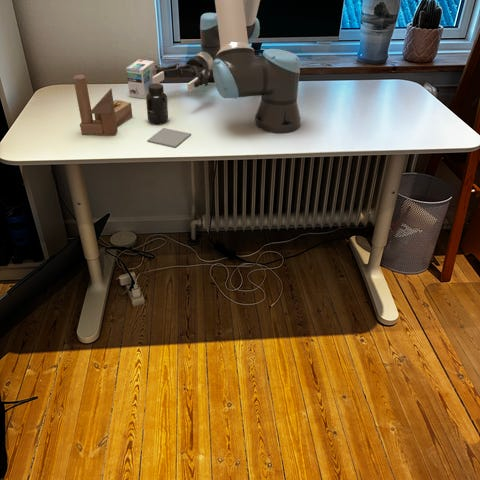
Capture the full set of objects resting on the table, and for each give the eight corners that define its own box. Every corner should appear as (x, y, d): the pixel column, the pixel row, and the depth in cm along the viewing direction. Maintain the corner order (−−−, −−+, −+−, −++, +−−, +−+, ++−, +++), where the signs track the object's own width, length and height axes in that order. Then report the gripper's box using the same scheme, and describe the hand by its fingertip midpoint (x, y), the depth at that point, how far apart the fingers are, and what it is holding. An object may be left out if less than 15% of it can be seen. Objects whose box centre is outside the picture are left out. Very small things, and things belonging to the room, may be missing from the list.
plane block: (132, 116, 170) (129, 93, 165) (111, 130, 161) (108, 106, 156) (117, 113, 171) (114, 91, 167) (96, 127, 163) (92, 103, 158)
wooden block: (115, 136, 158) (106, 79, 147) (81, 134, 158) (70, 78, 147) (118, 131, 161) (110, 75, 150) (84, 129, 161) (74, 74, 150)
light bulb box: (145, 99, 182) (142, 69, 176) (128, 97, 184) (125, 67, 177) (157, 89, 191) (155, 60, 184) (141, 87, 192) (138, 58, 185)
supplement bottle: (145, 124, 165) (141, 88, 158) (151, 116, 170) (147, 81, 163) (166, 125, 164) (163, 90, 157) (170, 117, 170) (168, 82, 163)
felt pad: (191, 134, 159) (191, 133, 159) (175, 148, 152) (175, 146, 151) (163, 129, 162) (163, 127, 162) (147, 141, 155) (147, 140, 155)
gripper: (229, 80, 184) (203, 101, 168) (170, 70, 191) (140, 89, 176) (230, 60, 179) (203, 79, 164) (169, 50, 187) (138, 67, 171)
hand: (170, 84), depth 170 cm, fingers open, 13 cm apart
